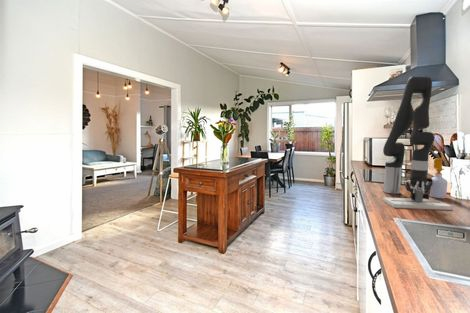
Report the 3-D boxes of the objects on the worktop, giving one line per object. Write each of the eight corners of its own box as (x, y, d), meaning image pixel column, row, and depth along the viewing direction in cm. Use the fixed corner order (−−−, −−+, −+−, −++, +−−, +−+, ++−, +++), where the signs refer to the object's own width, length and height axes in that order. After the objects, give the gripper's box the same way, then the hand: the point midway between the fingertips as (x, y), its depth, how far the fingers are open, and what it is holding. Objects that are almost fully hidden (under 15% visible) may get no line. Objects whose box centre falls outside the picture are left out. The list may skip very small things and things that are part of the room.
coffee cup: (434, 201, 145) (436, 179, 143) (418, 200, 146) (420, 178, 145) (426, 197, 153) (428, 176, 152) (411, 196, 155) (413, 176, 154)
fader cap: (410, 199, 139) (411, 188, 139) (416, 199, 139) (417, 188, 138) (416, 201, 134) (417, 190, 134) (422, 202, 134) (423, 190, 133)
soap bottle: (430, 197, 152) (433, 158, 150) (425, 194, 161) (428, 156, 158) (448, 199, 149) (452, 158, 146) (442, 195, 157) (446, 157, 155)
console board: (382, 200, 145) (382, 197, 145) (434, 202, 142) (434, 198, 142) (394, 207, 132) (394, 203, 132) (451, 209, 129) (451, 205, 129)
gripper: (428, 168, 138) (426, 198, 139) (401, 167, 139) (399, 197, 141) (438, 170, 130) (435, 202, 132) (409, 169, 132) (406, 201, 134)
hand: (416, 199), depth 137 cm, fingers closed on fader cap, 3 cm apart
